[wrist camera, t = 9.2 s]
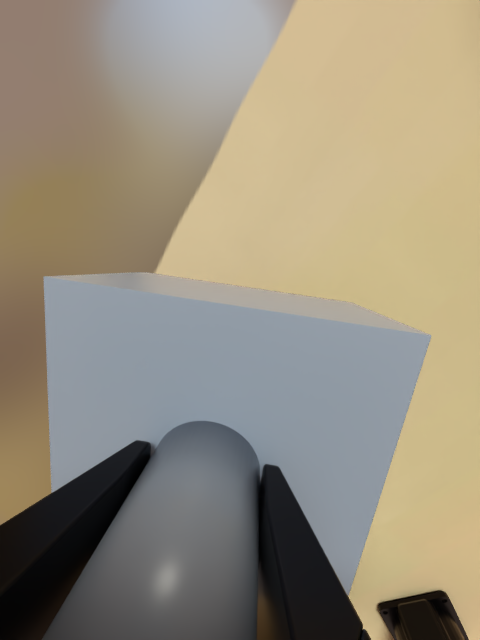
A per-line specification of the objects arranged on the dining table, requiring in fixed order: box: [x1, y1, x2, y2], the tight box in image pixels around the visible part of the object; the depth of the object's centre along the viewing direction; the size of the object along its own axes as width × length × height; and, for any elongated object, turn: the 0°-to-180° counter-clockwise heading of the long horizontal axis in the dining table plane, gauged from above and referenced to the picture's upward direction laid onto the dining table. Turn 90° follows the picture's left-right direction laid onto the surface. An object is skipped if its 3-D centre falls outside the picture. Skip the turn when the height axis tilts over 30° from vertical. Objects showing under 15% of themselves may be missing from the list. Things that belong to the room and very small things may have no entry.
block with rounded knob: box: [42, 272, 431, 640], centre depth 8 cm, size 10×10×10 cm
